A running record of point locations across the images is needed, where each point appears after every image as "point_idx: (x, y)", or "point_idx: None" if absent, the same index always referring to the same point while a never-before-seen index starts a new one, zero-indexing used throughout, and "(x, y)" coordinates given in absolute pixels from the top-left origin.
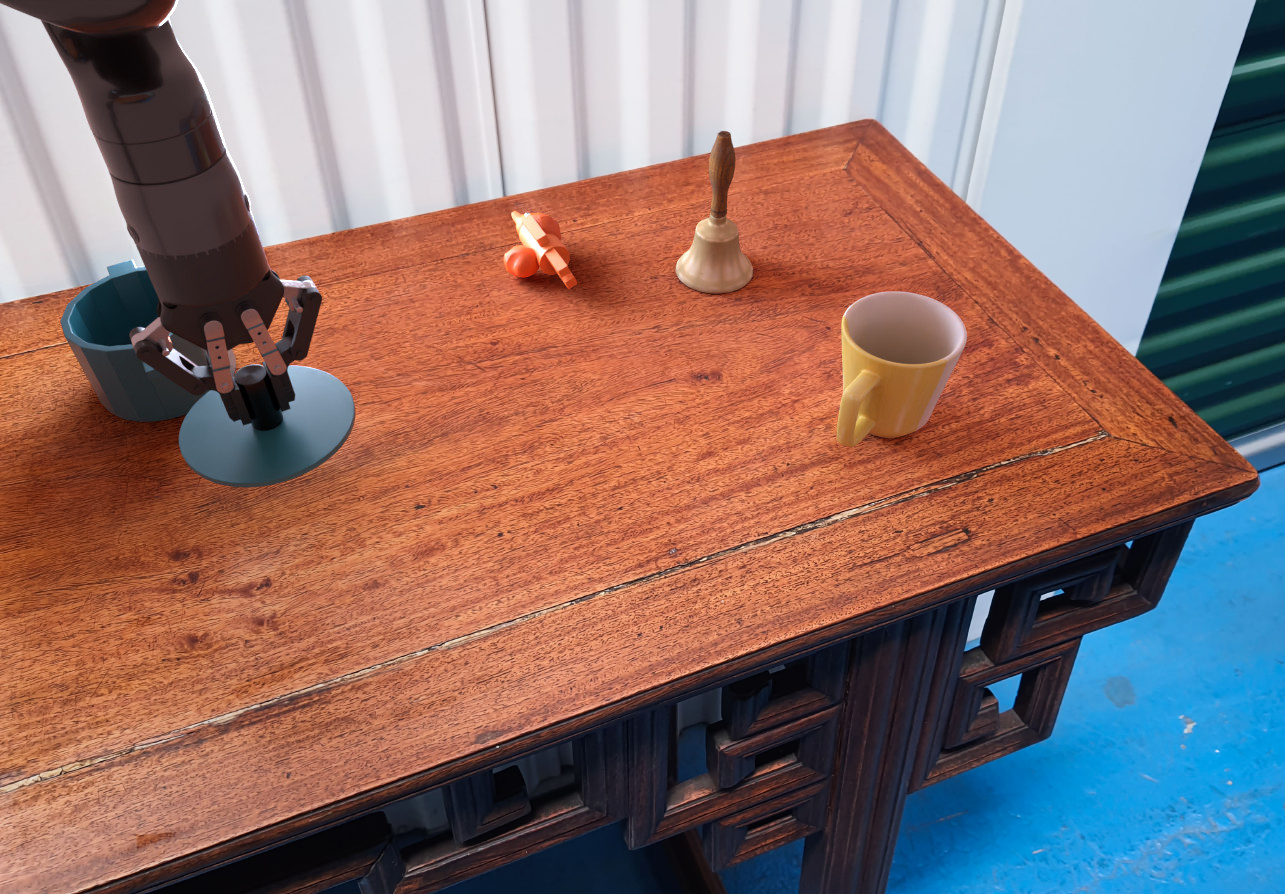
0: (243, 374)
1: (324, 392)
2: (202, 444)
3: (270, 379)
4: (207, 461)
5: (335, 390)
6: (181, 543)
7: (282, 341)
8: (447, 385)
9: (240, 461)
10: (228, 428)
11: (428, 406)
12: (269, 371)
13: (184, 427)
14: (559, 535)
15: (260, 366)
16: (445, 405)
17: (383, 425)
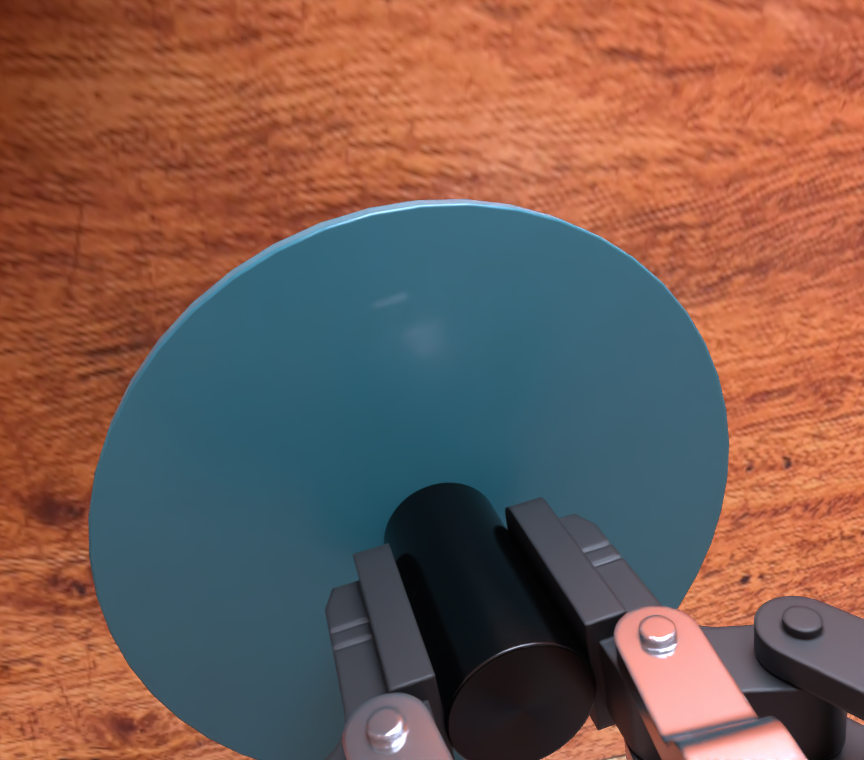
0: (493, 706)
1: (653, 430)
2: (194, 608)
3: (595, 724)
4: (219, 687)
5: (689, 427)
6: (53, 472)
7: (771, 703)
8: (843, 61)
9: (334, 697)
10: (294, 547)
11: (766, 138)
12: (606, 694)
13: (108, 510)
14: (830, 598)
15: (575, 660)
16: (805, 151)
17: (636, 176)
